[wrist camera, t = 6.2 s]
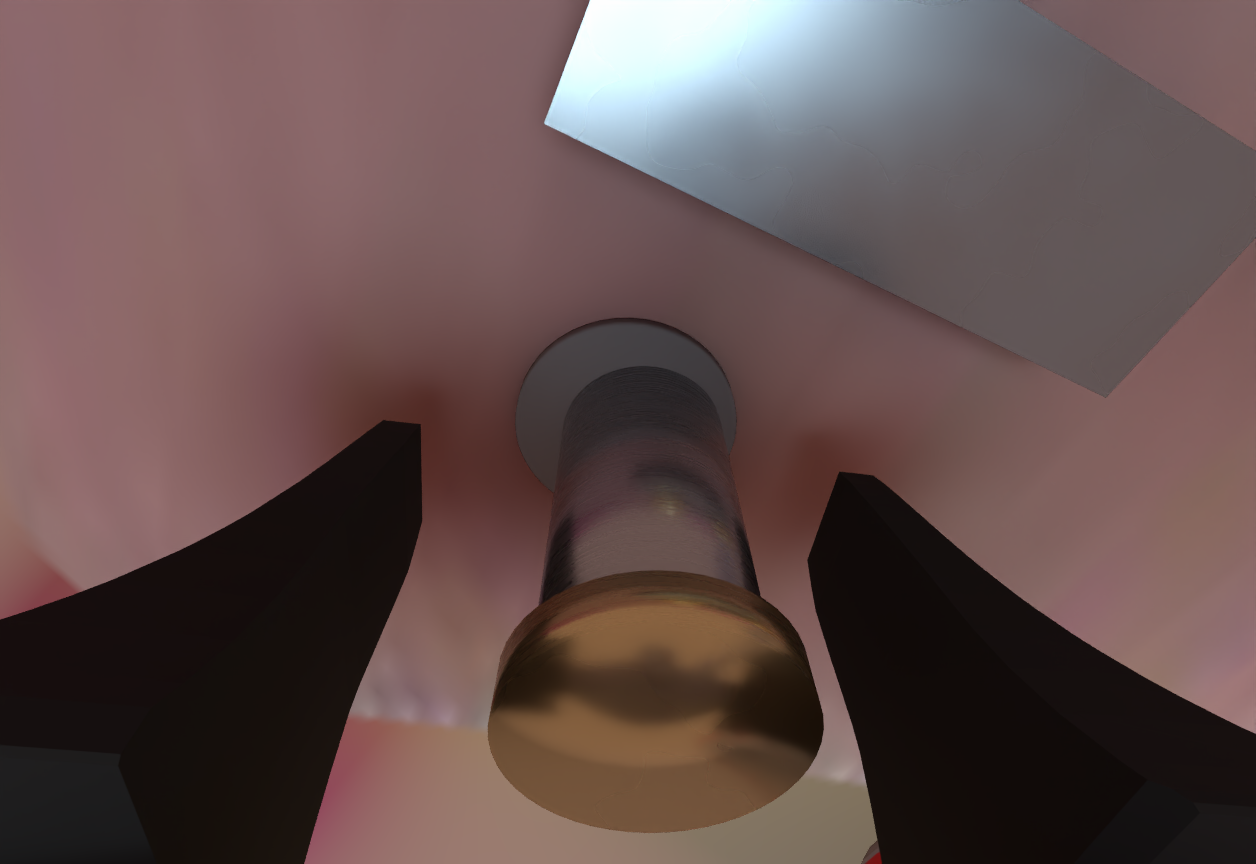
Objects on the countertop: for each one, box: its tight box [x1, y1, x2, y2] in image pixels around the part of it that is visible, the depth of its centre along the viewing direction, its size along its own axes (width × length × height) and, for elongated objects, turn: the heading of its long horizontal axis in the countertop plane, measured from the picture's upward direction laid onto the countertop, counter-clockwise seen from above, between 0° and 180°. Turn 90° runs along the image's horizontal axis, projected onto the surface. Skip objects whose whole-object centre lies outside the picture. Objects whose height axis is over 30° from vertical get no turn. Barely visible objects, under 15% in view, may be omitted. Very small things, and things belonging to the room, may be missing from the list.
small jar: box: [488, 366, 824, 833], centre depth 11 cm, size 4×4×7 cm
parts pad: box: [515, 318, 737, 493], centre depth 14 cm, size 4×4×1 cm
